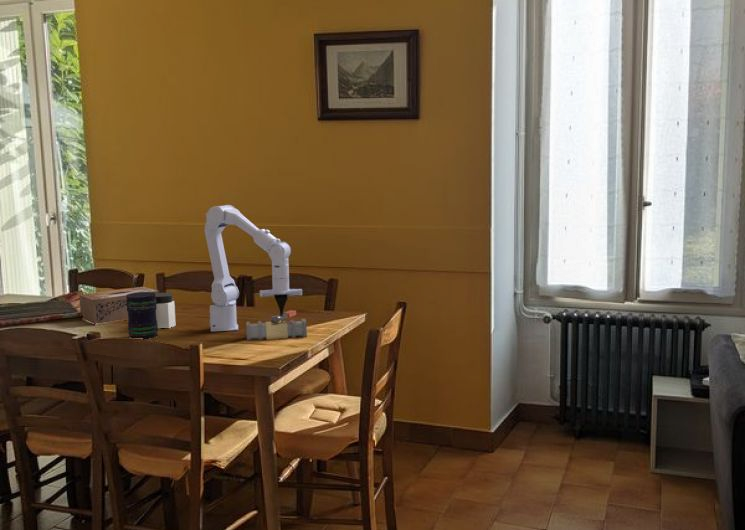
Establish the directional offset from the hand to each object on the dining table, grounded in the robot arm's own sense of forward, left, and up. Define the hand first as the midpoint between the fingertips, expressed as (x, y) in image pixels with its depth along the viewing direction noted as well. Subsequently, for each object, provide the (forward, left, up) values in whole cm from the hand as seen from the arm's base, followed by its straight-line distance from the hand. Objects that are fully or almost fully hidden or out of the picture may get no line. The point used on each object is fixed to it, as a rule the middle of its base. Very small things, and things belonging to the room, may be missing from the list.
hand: (281, 316), depth 257 cm
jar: (-42, +19, -6) cm, 47 cm away
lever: (+1, -3, 0) cm, 3 cm away
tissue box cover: (-60, +41, -6) cm, 73 cm away
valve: (-2, -7, -6) cm, 9 cm away
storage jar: (-47, +4, -6) cm, 48 cm away
